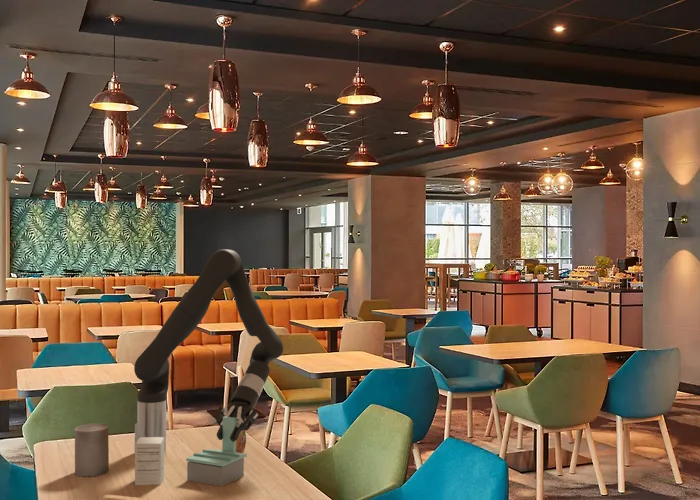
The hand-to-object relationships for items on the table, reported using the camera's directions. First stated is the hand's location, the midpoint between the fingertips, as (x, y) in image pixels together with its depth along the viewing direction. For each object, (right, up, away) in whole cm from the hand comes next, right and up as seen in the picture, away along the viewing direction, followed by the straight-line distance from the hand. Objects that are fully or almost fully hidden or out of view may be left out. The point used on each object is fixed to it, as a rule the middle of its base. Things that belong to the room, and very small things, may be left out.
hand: (225, 439), depth 227 cm
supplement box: (-20, -11, -8) cm, 25 cm away
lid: (-2, -5, -3) cm, 6 cm away
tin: (-1, -11, +24) cm, 26 cm away
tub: (-2, -11, -4) cm, 12 cm away
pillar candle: (-41, -11, +3) cm, 42 cm away
